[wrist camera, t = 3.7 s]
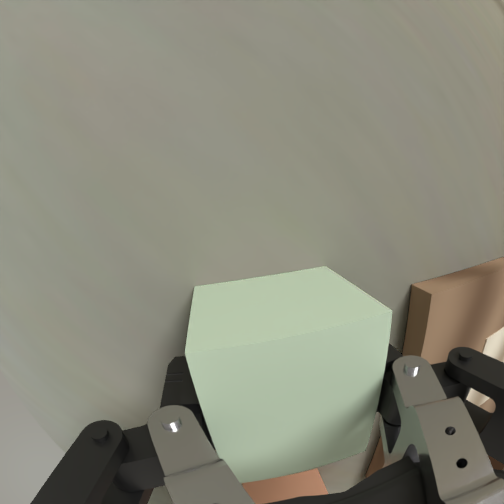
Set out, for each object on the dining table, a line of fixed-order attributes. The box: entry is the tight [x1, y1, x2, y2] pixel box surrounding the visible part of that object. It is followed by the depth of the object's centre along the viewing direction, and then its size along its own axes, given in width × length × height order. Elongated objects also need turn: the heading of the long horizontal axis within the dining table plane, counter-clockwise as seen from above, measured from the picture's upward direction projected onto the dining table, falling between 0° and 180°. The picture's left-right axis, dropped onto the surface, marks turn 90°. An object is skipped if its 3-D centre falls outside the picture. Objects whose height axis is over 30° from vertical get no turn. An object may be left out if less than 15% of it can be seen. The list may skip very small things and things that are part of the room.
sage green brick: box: [185, 266, 392, 483], centre depth 9 cm, size 5×6×4 cm
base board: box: [366, 257, 504, 478], centre depth 14 cm, size 20×17×2 cm
